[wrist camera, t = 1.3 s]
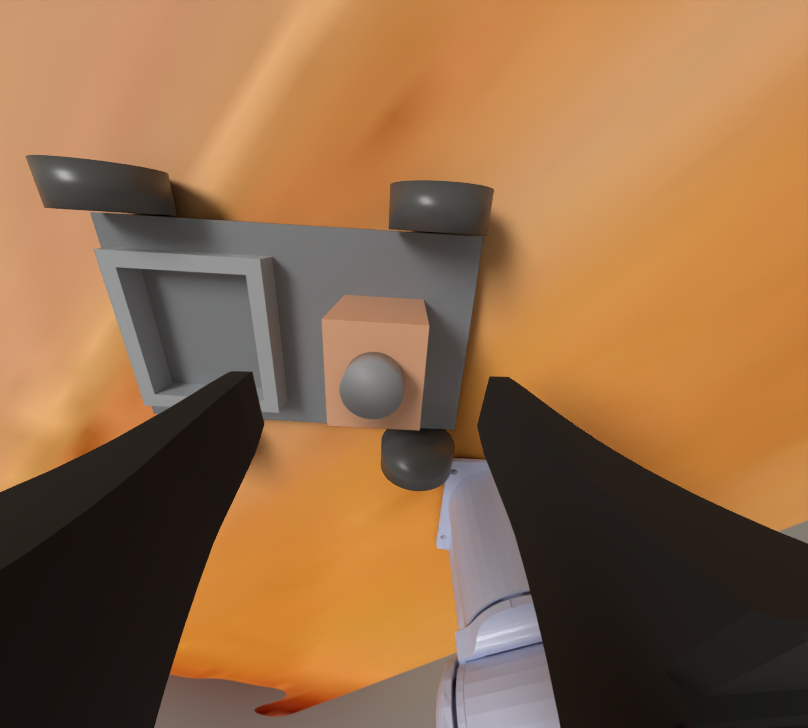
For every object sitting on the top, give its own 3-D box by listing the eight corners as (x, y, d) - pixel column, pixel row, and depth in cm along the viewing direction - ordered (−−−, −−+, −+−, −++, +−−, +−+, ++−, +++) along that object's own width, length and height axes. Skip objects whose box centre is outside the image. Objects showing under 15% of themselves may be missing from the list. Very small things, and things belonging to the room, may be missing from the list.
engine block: (416, 382, 19) (420, 446, 14) (346, 378, 19) (320, 441, 14) (423, 299, 17) (431, 334, 12) (344, 294, 17) (313, 327, 11)
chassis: (449, 443, 22) (459, 493, 18) (171, 428, 22) (116, 475, 18) (484, 196, 16) (512, 185, 12) (95, 171, 16) (-19, 151, 12)
